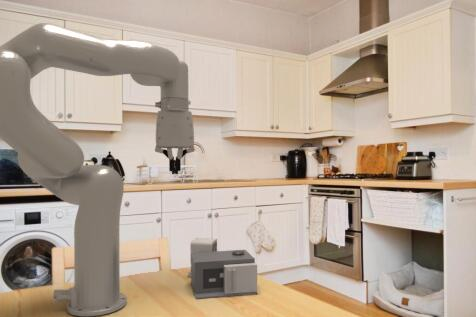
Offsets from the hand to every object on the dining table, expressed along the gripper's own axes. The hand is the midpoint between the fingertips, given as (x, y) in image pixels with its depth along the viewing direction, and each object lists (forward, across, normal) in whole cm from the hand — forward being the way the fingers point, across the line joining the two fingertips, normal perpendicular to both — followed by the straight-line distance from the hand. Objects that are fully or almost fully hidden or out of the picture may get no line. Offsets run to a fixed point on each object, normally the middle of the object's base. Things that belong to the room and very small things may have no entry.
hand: (174, 173), depth 102 cm
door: (+29, +15, -14) cm, 35 cm away
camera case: (+29, +11, -9) cm, 32 cm away
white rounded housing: (+29, +8, +4) cm, 31 cm away
